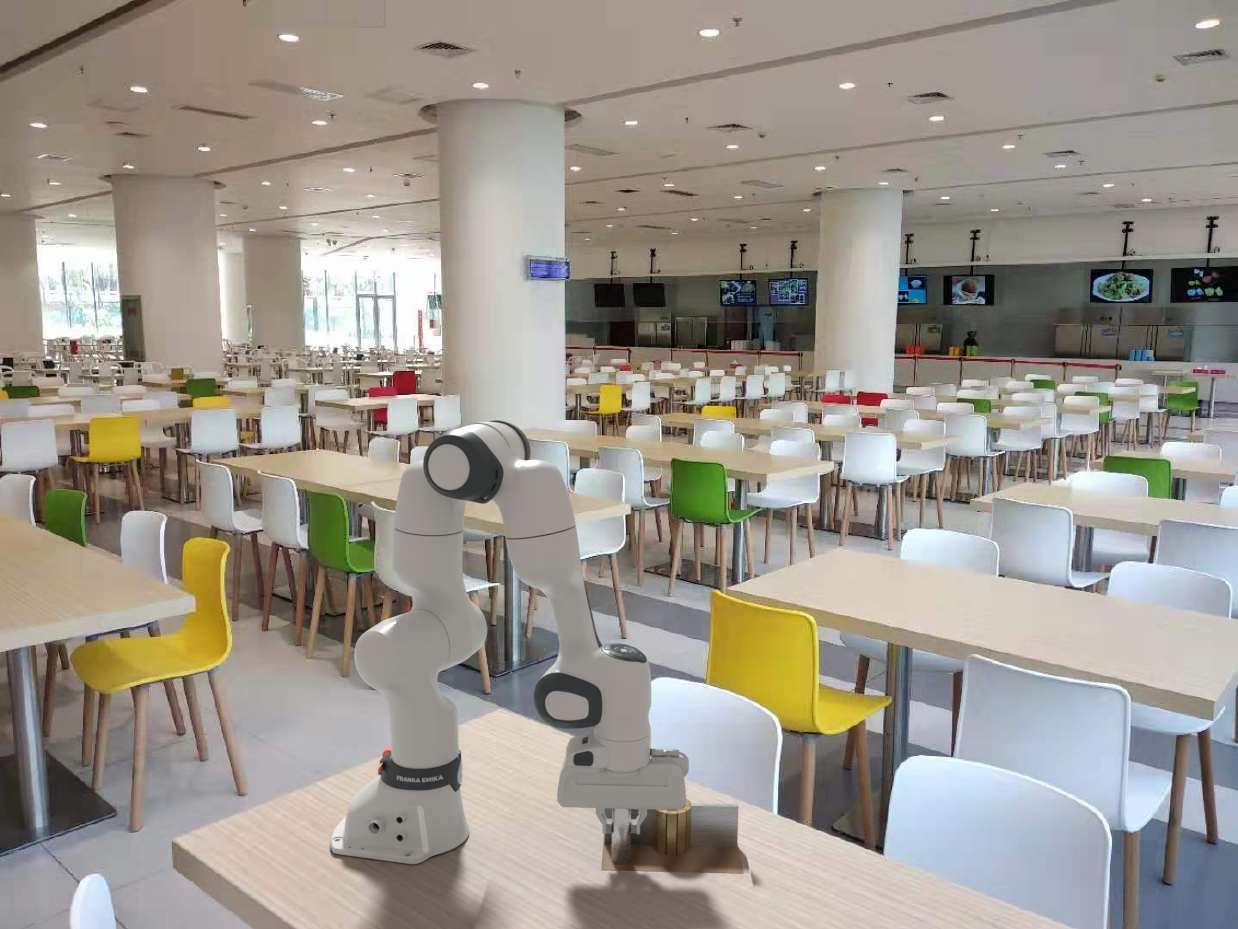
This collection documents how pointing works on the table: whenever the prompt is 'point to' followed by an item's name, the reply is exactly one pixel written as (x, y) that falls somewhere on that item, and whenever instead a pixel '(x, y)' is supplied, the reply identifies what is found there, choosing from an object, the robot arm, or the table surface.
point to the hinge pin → (621, 836)
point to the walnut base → (677, 860)
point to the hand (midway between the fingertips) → (621, 832)
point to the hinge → (685, 828)
